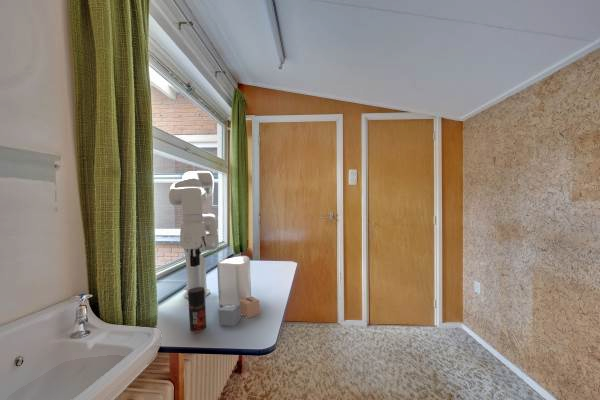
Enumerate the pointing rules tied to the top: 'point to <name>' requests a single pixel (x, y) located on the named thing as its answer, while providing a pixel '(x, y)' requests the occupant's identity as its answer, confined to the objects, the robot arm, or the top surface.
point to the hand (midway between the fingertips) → (195, 265)
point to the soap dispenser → (234, 280)
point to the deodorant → (197, 309)
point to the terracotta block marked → (249, 307)
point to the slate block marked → (229, 314)
